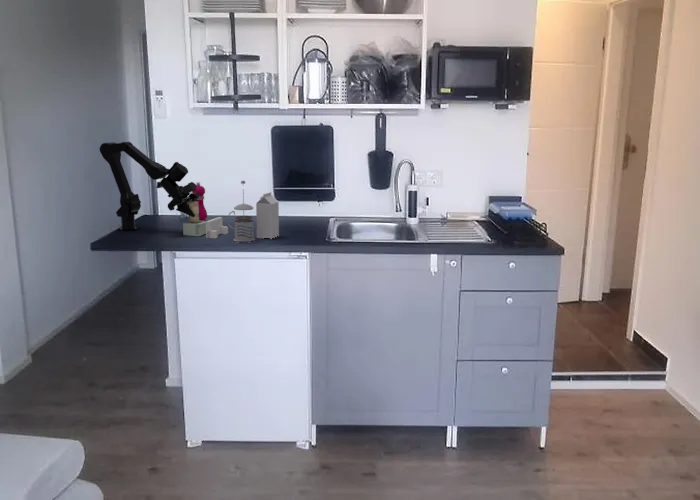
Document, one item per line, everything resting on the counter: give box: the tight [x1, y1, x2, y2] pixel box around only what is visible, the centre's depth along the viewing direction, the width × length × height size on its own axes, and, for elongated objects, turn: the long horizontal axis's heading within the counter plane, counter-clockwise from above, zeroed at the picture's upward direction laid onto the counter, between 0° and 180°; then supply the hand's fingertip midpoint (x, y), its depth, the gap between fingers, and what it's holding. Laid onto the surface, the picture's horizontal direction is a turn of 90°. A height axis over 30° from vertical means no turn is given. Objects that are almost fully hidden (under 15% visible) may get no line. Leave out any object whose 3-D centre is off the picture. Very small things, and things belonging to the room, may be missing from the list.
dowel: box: [188, 201, 199, 224], centre depth 276 cm, size 4×4×12 cm
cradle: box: [182, 220, 207, 237], centre depth 277 cm, size 8×9×5 cm
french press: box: [227, 180, 256, 241], centre depth 263 cm, size 10×12×25 cm
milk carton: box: [255, 191, 280, 240], centre depth 271 cm, size 7×7×19 cm
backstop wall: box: [205, 216, 229, 239], centre depth 274 cm, size 4×12×7 cm, turn 165°
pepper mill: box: [191, 181, 208, 221], centre depth 298 cm, size 7×7×20 cm
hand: (196, 215), depth 275 cm, fingers closed on dowel, 4 cm apart
